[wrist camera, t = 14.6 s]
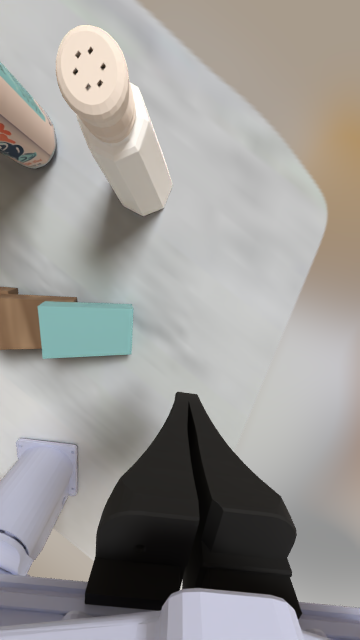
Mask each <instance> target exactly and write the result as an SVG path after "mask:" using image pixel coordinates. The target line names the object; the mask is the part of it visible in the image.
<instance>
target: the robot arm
mask: <svg viewBox="0 0 360 640" xmlns="http://www.w3.org/2000/svg"><path fill="white" fill-rule="evenodd" d="M16 447H17V455H18V461H17V462H16V463H15V464H14V465H13V467H12V468H11V469H10V470H9V471H8V473H7V474H6V475H5V476H4V477H3V479H2V480H1V481H0V640H360V608H357V607H346V606H336V605H325V604H315V603H304V602H298V600H297V597H296V594H295V591H294V588H293V585H292V582H291V580H290V577H291V576H292V571H291V568H290V565H289V562H288V560H287V557H288V555H289V553H290V551H291V549H292V547H293V545H294V542H295V539H296V535H297V534H296V528H295V526H294V524H293V521H292V519H291V516H290V514H289V512H288V510H287V508H286V506H285V504H284V502H283V500H282V498H281V496H280V495H279V494H277V493H276V492H275V491H274V490H273V489H271V488H270V487H269V486H268V485H267V484H265V483H264V482H263V481H262V480H261V479H260V478H258V476H256V475H255V474H254V473H253V472H252V471H251V470H250V469H249V468H248V467H247V466H246V465H245V464H244V463H243V462H242V461H241V460H240V459H239V457H238V456H237V455H236V454H235V453H234V452H233V451H232V450H231V448H230V447H229V446H228V445H227V443H226V442H225V441H224V439H223V438H222V437H221V435H220V434H219V432H218V431H217V429H216V428H215V426H214V425H213V423H212V422H211V420H210V418H209V416H208V415H207V413H206V411H205V409H204V407H203V405H202V403H201V401H200V399H199V397H198V395H197V394H190V393H183V392H177V393H176V395H175V401H174V404H173V407H172V409H171V411H170V414H169V416H168V418H167V420H166V422H165V423H164V425H163V427H162V429H161V430H160V432H159V433H158V435H157V436H156V438H155V439H154V441H153V442H152V443H151V445H150V446H149V447H148V449H147V450H146V451H145V452H144V453H143V455H142V456H141V457H140V458H139V459H138V460H137V462H136V463H135V464H134V465H133V466H132V467H131V468H130V469H129V470H128V471H127V472H126V473H125V474H124V475H123V476H122V477H121V478H120V479H119V481H118V483H117V484H116V486H115V488H114V490H113V491H112V493H111V495H110V497H109V499H108V501H107V503H106V505H105V508H104V510H103V513H102V516H101V519H100V523H99V526H98V530H97V536H96V557H95V560H94V564H93V567H92V571H91V574H90V577H89V581H88V582H83V581H73V580H62V579H52V578H40V577H31V576H30V575H28V574H27V573H28V571H29V568H30V566H31V565H32V562H33V561H34V560H35V559H36V558H37V556H38V555H39V554H40V552H41V551H42V549H43V547H44V545H45V543H46V541H47V539H48V537H49V535H50V533H51V531H52V529H53V527H54V525H55V523H56V521H57V519H58V517H59V515H60V512H61V510H62V508H63V506H64V504H65V502H66V500H67V498H68V496H69V495H71V496H75V495H76V494H77V446H76V445H74V444H66V443H57V442H49V441H40V440H32V439H24V438H20V439H18V440H17V441H16ZM182 579H183V585H182V586H183V587H182V590H180V586H181V583H182ZM179 590H180V591H179Z"/></svg>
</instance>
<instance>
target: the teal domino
mask: <svg viewBox="0 0 360 640" xmlns="http://www.w3.org/2000/svg"><path fill="white" fill-rule="evenodd" d="M38 315H39V325H40V335H41V345H42V355H43V359H46V358H67V357H87V356H107V355H128V354H131V350H132V327H133V307H132V304H108V303H81V302H53V301H44V302H43V303H42V304H40V305H39V306H38Z"/></svg>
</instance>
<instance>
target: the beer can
mask: <svg viewBox="0 0 360 640" xmlns="http://www.w3.org/2000/svg"><path fill="white" fill-rule="evenodd" d="M55 148H56V134H55V129H54V127H53V124H52V122H51V120H50V118H49V116H48V115H47V113H46V112H45V111H44V110H43V109H42V108H41V107H40V105H39V104H38V103H37V102H36V101H35V100H34V99H33V98H32V97H31V95H30V94H29V93H28V92H27V91H26V90H25V89H24V88H23V87H22V85H21V84H20V83H19V82H18V81H17V80H16V79H15V78H14V77H13V75H12V74H11V73H10V72H9V71H8V70H7V69H6V68H5V66H4V65H3V64H2V63H1V62H0V152H1V153H3V154H5V155H6V156H8V157H9V158H11V159H13V160H14V161H16V162H17V163H19V164H21V165H23V166H25V167H28V168H39V167H42V166H44V165H46V164H47V163H48V162H49V161H50V160H51V158H52V157H53V155H54V152H55Z"/></svg>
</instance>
